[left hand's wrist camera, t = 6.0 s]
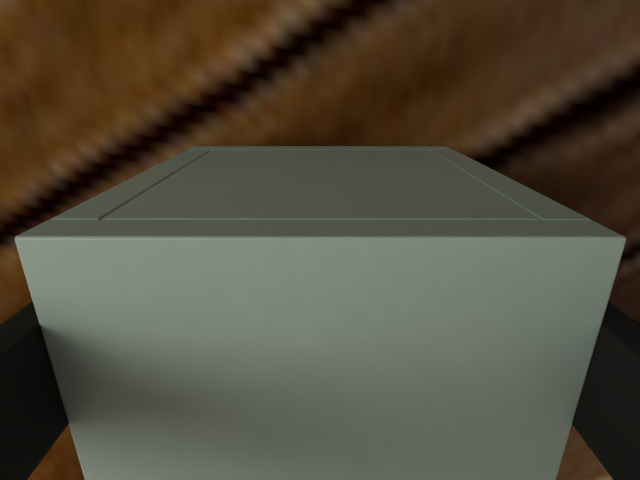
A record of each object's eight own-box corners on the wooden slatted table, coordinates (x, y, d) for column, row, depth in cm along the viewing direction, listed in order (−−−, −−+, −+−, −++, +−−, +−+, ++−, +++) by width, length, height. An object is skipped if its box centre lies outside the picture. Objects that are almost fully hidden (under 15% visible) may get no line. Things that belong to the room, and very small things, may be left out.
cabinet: (411, 462, 26) (479, 743, 15) (228, 462, 26) (160, 742, 15) (447, 145, 19) (629, 237, 8) (193, 145, 19) (11, 236, 8)
